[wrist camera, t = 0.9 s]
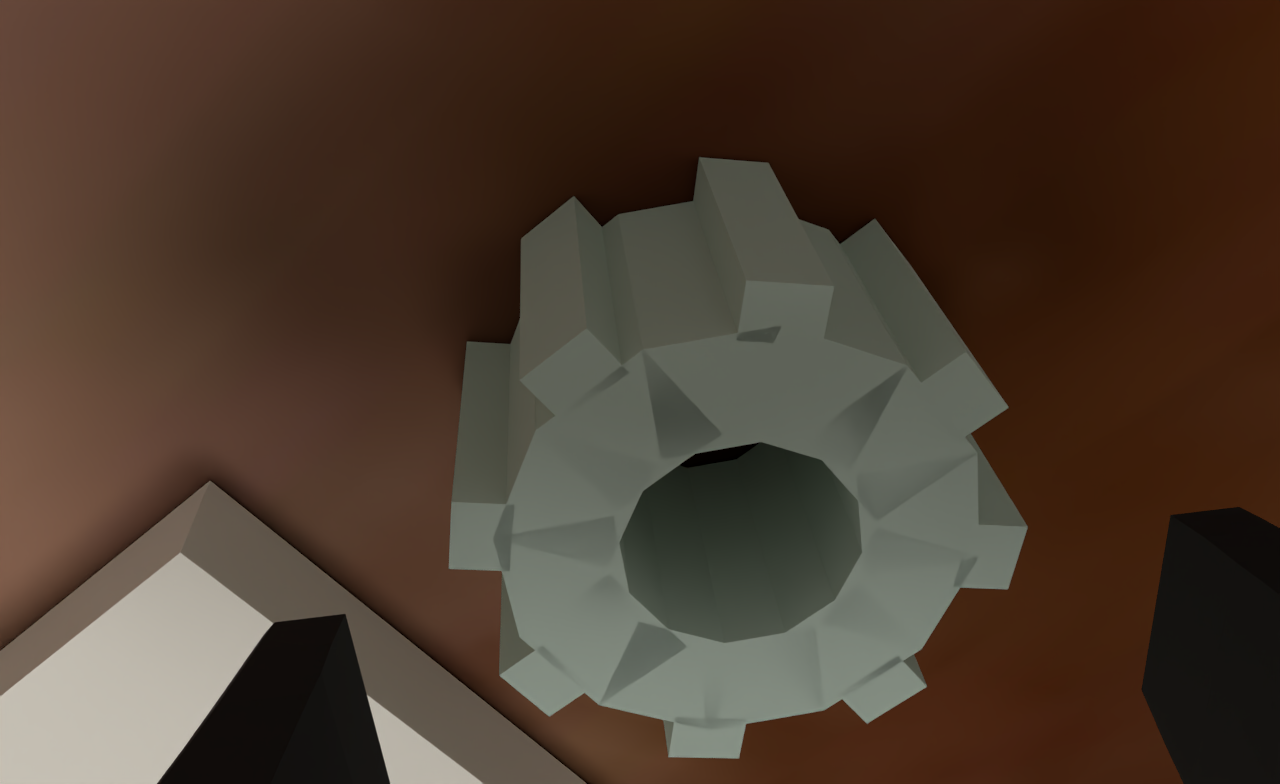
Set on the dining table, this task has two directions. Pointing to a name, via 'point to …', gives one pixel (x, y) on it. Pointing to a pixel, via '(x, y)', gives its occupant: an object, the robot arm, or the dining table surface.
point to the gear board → (223, 664)
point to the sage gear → (724, 466)
